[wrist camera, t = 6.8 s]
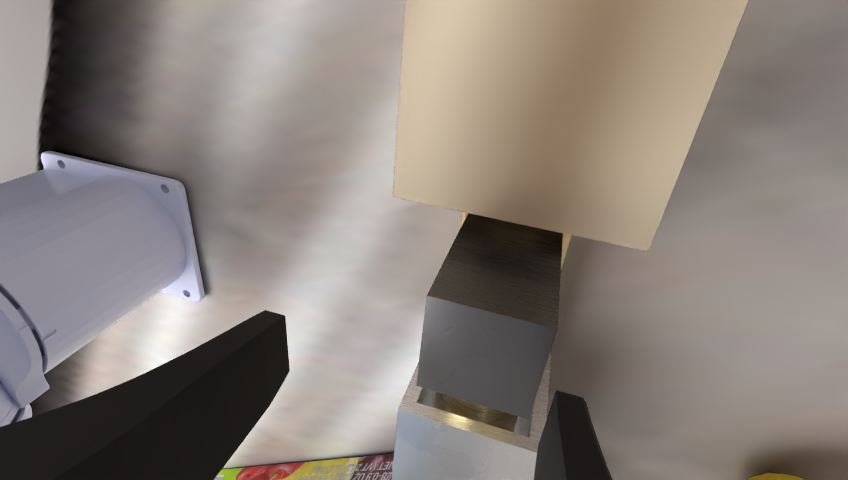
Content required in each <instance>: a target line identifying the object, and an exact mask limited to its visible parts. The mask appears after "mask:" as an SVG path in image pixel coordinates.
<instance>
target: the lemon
mask: <svg viewBox="0 0 848 480" xmlns="http://www.w3.org/2000/svg"><path fill="white" fill-rule="evenodd" d="M747 480H805V479H802V478H800V477H797V476H792V475H787V474H774V473H770V472H768V473H764V474H762V475H758V476H754V477H751V478H749V479H747Z"/></svg>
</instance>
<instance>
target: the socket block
mask: <svg viewBox="0 0 848 480" xmlns="http://www.w3.org/2000/svg"><path fill="white" fill-rule="evenodd" d="M748 1H749V0H405V16H404V31H403V47H402V62H401V78H400V93H399V109H398V124H397V140H396V155H395V171H394V186H393V197H396V198H400V199H405V200H410V201H414V202H419V203H424V204H428V205H433V206H438V207H442V208H447V209H452V210H456V211H461V212H466V213H470V214H475V215H480V216H484V217H489V218H494V219H499V220H503V221H508V222H513V223H517V224H522V225H527V226H531V227H536V228H541V229H545V230H550V231H555V232H559V233H564V234H569V235H573V236H578V237H583V238H587V239H592V240H597V241H601V242H606V243H611V244H615V245H620V246H625V247H629V248H634V249H639V250H643V251H649V248H650V246H651V243H652V241H653V238H654V236H655V233H656V231H657V228H658V226H659V223H660V221H661V218H662V216H663V213H664V211H665V208H666V206H667V203H668V201H669V198H670V196H671V193H672V191H673V188H674V186H675V183H676V181H677V178H678V176H679V173H680V171H681V168H682V166H683V163H684V161H685V158H686V156H687V153H688V151H689V148H690V146H691V143H692V141H693V138H694V136H695V133H696V131H697V128H698V126H699V123H700V121H701V118H702V116H703V113H704V111H705V108H706V106H707V103H708V101H709V98H710V96H711V93H712V91H713V88H714V86H715V83H716V81H717V78H718V76H719V73H720V71H721V68H722V66H723V63H724V61H725V58H726V56H727V53H728V51H729V48H730V46H731V43H732V41H733V38H734V36H735V33H736V31H737V28H738V26H739V23H740V21H741V18H742V16H743V13H744V11H745V8H746V6H747V3H748Z"/></svg>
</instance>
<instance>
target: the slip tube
mask: <svg viewBox="0 0 848 480" xmlns="http://www.w3.org/2000/svg"><path fill="white" fill-rule="evenodd" d="M571 236H572V235H569V234H564V233H559V232H555V231H550V230H545V229H541V228H536V227H531V226H527V225H522V224H517V223H513V222H508V221H503V220H499V219H494V218H489V217H484V216H480V215H475V214H470V213H466V212H463V214H462V221H461V228H460V231H459V233H458V235H457V237H456V239H455V241H454V243H453V245H452V247H451V249H450V251H449V253H448V255H447V257H446V259H445V261H444V263H443V265H442V267H441V269H440V271H439V273H438V275H437V277H436V279H435V281H434V283H433V285H432V287H431V289H430V291H429V293H428V295H427V300H426V308H425V316H424V325H423V333H422V341H421V350H420V358H419V366H418V375H417V383H416V386H419V387H422V388H426V389H429V390H432V391H435V399H434V405H433V408H436V409H439V410H442V411H446V412H449V413H452V414H455V415H459V416H462V417H465V418H468V419H472V420H475V421H478V422H481V423H484V424H488V425H491V426H494V427H497V428H501V429H504V430H507V431H510V432H514V430H515V426H516V423H517V419H518V417H522V418H525V419H528V420H529V417H530V414H531V411H532V408H533V404H534V401H535V398H536V395H537V392H538V389H539V385H540V382H541V379H542V376H543V373H544V369H545V366H546V363H547V360H548V357H549V353H550V350H551V347H552V344H553V341H554V337H555V334H556V331H557V323H558V307H559V291H560V275H561V270H562V267H563V263H564V260H565V256H566V253H567V250H568V246H569V243H570V239H571Z"/></svg>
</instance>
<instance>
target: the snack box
mask: <svg viewBox="0 0 848 480" xmlns="http://www.w3.org/2000/svg"><path fill="white" fill-rule="evenodd" d="M393 460H394V454H386V455H375V456H365V457H354V458H343V459H332V460H322V461H311V462H301V463H289V464H278V465H266V466H255V467H245V468H232V469H221V471H220V472H219V473H218V475H217V476H216V477H215V479H214V480H392V470H393Z"/></svg>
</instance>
